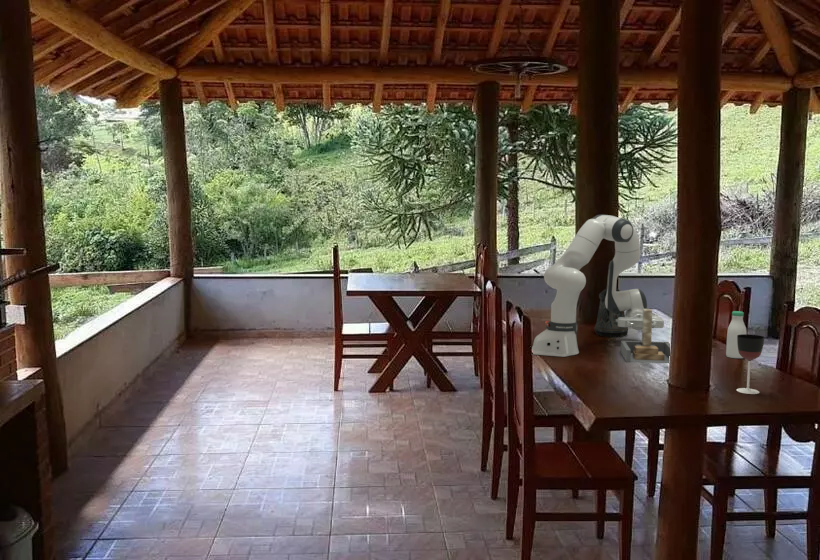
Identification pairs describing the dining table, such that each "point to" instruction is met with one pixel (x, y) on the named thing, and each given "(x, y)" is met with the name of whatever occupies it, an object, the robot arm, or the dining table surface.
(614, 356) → the dining table surface
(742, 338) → the wineglass
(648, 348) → the upper offcut
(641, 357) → the lower offcut
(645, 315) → the birch strip
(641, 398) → the dining table surface
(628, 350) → the grey open tray
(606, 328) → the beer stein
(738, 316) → the milk bottle
